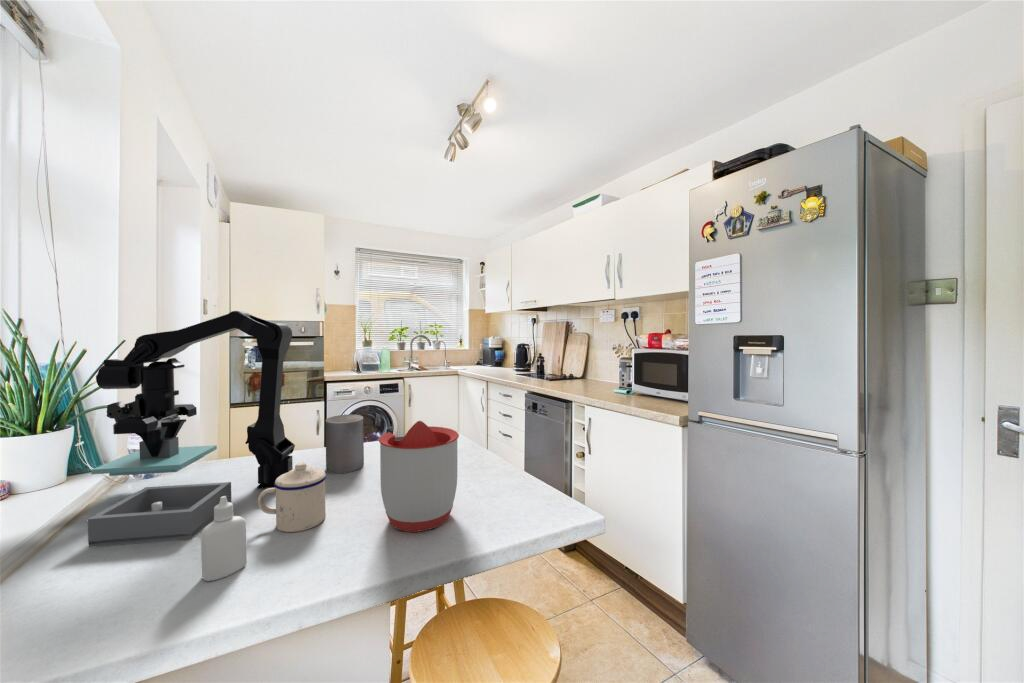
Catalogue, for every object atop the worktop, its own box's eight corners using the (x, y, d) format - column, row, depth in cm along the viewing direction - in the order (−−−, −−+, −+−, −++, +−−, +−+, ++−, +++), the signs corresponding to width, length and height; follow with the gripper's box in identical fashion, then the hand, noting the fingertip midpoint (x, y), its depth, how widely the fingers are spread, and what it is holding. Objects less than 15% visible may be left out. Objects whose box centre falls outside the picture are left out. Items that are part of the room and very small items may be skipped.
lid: (216, 453, 101) (216, 429, 101) (180, 474, 87) (179, 446, 87) (142, 457, 98) (141, 433, 98) (91, 479, 84) (90, 451, 83)
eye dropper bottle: (207, 568, 63) (205, 494, 62) (248, 560, 65) (247, 488, 65) (198, 584, 59) (196, 505, 59) (243, 575, 61) (241, 499, 61)
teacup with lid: (330, 508, 84) (329, 454, 83) (322, 529, 75) (321, 469, 75) (266, 516, 80) (265, 459, 80) (250, 539, 72) (249, 475, 71)
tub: (231, 504, 86) (231, 482, 85) (192, 538, 72) (191, 511, 72) (146, 510, 83) (145, 487, 82) (88, 547, 69) (87, 519, 69)
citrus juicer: (427, 493, 92) (427, 408, 91) (474, 519, 80) (474, 420, 79) (361, 515, 81) (360, 418, 80) (404, 549, 69) (404, 435, 68)
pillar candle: (330, 462, 112) (329, 410, 112) (366, 460, 115) (365, 409, 114) (322, 475, 103) (321, 418, 102) (361, 472, 105) (361, 416, 105)
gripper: (147, 383, 99) (149, 444, 100) (81, 395, 81) (84, 470, 82) (197, 382, 102) (198, 442, 102) (144, 394, 83) (146, 467, 84)
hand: (160, 454), depth 92 cm, fingers closed on lid, 3 cm apart
